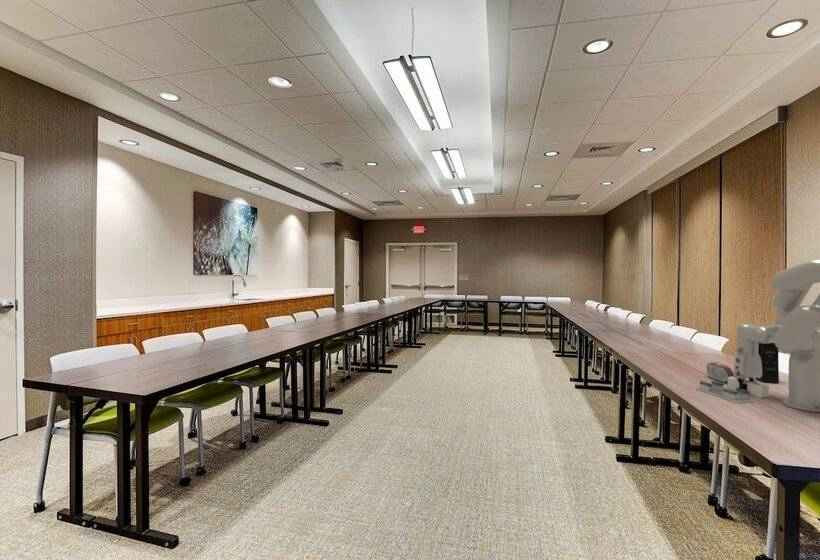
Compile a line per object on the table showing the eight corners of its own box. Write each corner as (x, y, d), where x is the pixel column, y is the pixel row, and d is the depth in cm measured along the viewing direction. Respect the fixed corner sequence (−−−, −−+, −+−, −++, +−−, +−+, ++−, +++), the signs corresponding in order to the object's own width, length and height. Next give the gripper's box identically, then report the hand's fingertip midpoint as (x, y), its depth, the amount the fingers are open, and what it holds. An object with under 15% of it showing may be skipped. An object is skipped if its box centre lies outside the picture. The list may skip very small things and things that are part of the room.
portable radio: (760, 382, 192) (760, 332, 192) (753, 379, 198) (753, 330, 198) (780, 383, 190) (780, 332, 190) (772, 380, 196) (772, 330, 195)
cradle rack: (754, 402, 163) (754, 392, 163) (736, 403, 162) (736, 393, 162) (711, 388, 183) (711, 379, 183) (696, 389, 182) (696, 380, 182)
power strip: (768, 397, 169) (768, 385, 169) (761, 398, 169) (761, 386, 169) (734, 387, 185) (734, 376, 185) (727, 387, 185) (727, 376, 185)
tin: (734, 384, 189) (734, 367, 189) (728, 384, 189) (728, 367, 189) (711, 376, 204) (711, 360, 204) (705, 376, 204) (705, 360, 204)
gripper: (738, 353, 172) (738, 395, 172) (772, 352, 174) (771, 393, 174) (723, 350, 179) (723, 390, 180) (755, 349, 181) (755, 388, 182)
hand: (747, 391), depth 177 cm, fingers closed on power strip, 3 cm apart
